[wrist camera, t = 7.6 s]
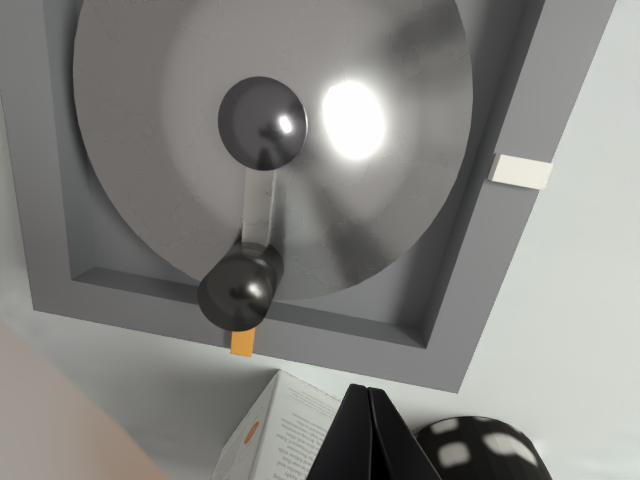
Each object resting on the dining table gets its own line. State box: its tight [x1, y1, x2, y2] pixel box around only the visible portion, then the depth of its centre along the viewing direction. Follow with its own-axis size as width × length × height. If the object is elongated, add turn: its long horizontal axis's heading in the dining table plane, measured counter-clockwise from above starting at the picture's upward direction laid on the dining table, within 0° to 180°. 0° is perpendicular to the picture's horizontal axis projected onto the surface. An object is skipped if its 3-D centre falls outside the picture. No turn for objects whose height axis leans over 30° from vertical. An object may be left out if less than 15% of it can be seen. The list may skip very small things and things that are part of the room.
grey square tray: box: [0, 0, 616, 394], centre depth 13 cm, size 20×20×3 cm
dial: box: [73, 0, 473, 332], centre depth 11 cm, size 14×14×4 cm
